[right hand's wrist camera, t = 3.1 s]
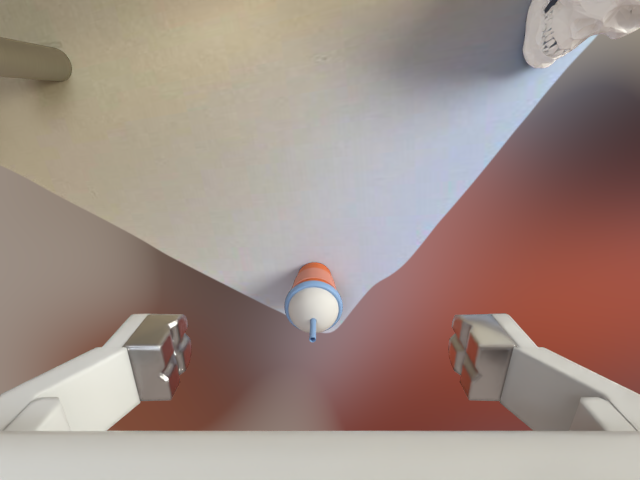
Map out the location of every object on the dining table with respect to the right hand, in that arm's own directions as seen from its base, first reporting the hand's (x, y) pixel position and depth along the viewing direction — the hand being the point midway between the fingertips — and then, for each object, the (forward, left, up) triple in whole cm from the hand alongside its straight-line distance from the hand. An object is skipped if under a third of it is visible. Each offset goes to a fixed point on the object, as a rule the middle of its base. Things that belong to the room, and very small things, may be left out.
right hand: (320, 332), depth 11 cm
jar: (-12, -39, -48) cm, 63 cm away
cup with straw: (+23, -1, -48) cm, 53 cm away
